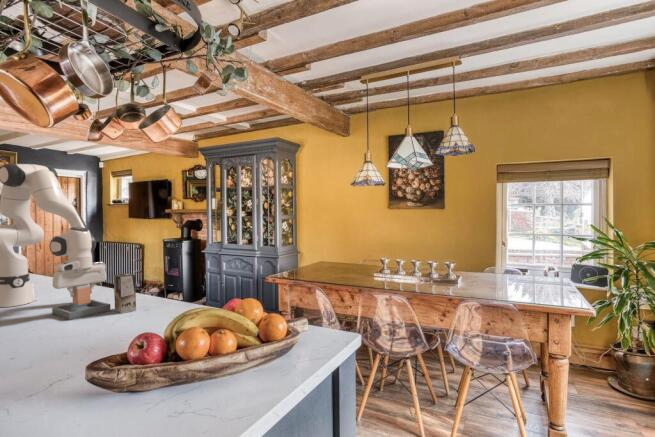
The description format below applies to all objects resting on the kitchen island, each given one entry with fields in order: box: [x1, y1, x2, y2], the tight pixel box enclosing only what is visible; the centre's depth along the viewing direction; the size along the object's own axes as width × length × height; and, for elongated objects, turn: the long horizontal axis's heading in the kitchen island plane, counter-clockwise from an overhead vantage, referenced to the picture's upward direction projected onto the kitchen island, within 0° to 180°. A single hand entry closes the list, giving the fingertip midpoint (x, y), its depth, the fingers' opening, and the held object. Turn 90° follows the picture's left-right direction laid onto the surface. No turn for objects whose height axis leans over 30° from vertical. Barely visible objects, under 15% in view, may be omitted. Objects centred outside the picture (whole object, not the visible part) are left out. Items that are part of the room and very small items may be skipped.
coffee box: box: [113, 272, 137, 314], centre depth 162 cm, size 9×6×16 cm
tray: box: [51, 299, 111, 321], centre depth 159 cm, size 17×16×3 cm
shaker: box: [71, 284, 92, 305], centre depth 159 cm, size 5×5×8 cm
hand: (81, 295), depth 159 cm, fingers closed on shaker, 5 cm apart
